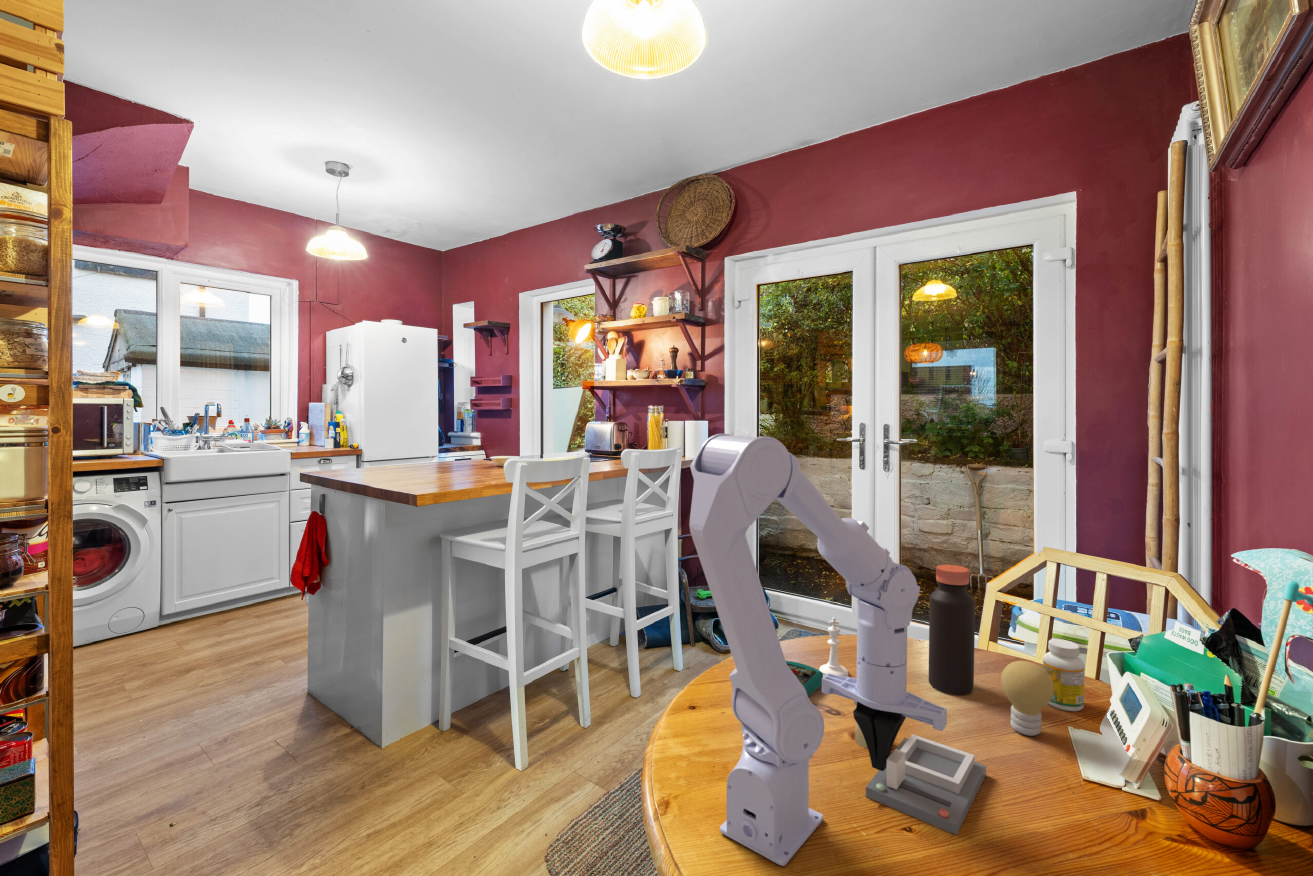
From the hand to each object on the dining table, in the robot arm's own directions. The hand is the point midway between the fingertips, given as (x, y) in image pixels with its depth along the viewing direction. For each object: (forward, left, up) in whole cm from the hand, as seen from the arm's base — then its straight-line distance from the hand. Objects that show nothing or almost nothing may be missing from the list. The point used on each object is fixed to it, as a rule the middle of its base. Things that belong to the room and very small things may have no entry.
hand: (880, 765), depth 73 cm
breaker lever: (0, -2, -1) cm, 2 cm away
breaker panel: (+4, -4, -3) cm, 6 cm away
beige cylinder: (+9, +5, -3) cm, 10 cm away
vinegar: (+34, +1, -3) cm, 34 cm away
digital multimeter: (+14, +21, -3) cm, 25 cm away
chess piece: (+26, +18, -3) cm, 31 cm away
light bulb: (+26, -11, -3) cm, 28 cm away
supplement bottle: (+39, -14, -3) cm, 42 cm away
